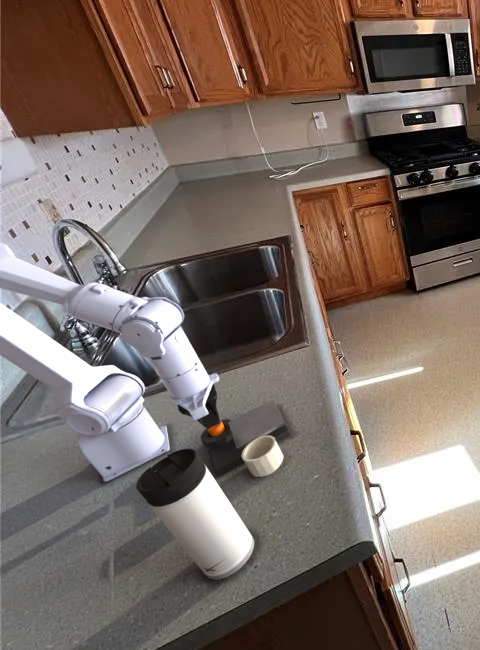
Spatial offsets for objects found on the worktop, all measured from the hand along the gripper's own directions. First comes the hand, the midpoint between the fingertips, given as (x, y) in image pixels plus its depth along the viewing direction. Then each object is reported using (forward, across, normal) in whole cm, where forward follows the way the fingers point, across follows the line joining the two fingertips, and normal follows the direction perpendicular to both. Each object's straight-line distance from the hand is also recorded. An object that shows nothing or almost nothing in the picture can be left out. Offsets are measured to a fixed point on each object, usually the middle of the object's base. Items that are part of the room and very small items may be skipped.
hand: (213, 423), depth 76 cm
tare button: (+2, 0, 0) cm, 2 cm away
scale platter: (+2, -4, -6) cm, 7 cm away
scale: (+5, -3, -4) cm, 7 cm away
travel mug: (+5, -25, +3) cm, 26 cm away
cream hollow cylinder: (+5, -12, -5) cm, 14 cm away
